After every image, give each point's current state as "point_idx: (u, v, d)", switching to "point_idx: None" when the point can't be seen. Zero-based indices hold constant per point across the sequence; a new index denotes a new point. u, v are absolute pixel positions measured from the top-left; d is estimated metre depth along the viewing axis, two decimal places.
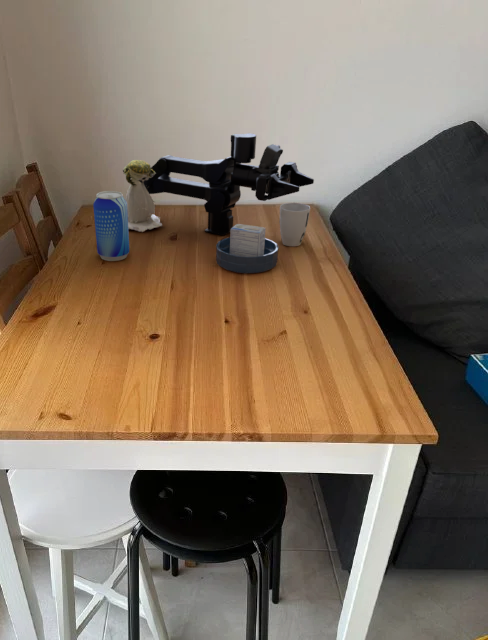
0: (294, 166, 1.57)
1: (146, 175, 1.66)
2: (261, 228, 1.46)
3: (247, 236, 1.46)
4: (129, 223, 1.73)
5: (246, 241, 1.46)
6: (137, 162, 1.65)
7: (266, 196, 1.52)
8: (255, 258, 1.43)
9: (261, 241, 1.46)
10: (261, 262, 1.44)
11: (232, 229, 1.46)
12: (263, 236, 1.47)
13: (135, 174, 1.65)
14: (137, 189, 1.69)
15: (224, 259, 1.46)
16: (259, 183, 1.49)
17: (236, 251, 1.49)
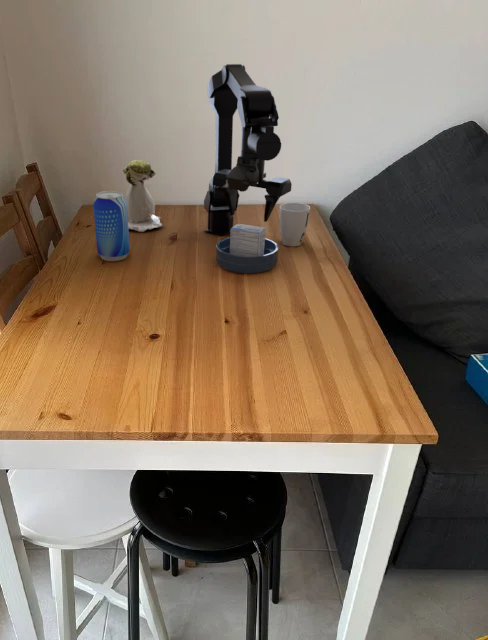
0: (268, 197, 1.37)
1: (146, 175, 1.66)
2: (261, 228, 1.46)
3: (247, 236, 1.46)
4: (129, 223, 1.73)
5: (246, 241, 1.46)
6: (137, 162, 1.65)
7: None
8: (255, 258, 1.43)
9: (261, 241, 1.46)
10: (261, 262, 1.44)
11: (232, 229, 1.46)
12: (263, 236, 1.47)
13: (135, 174, 1.65)
14: (137, 189, 1.69)
15: (224, 259, 1.46)
16: None
17: (236, 251, 1.49)
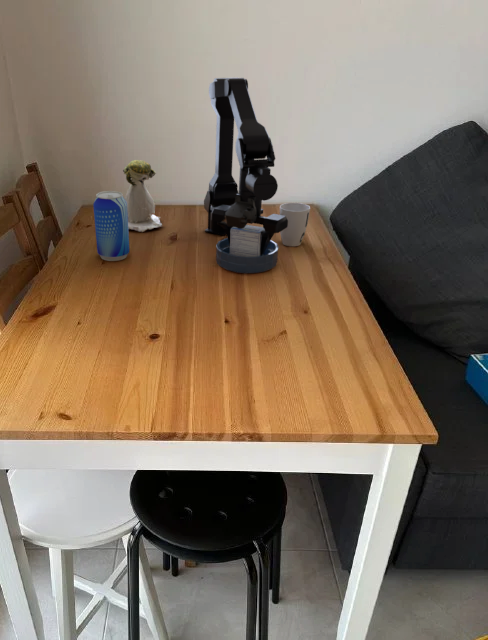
0: (264, 233, 1.42)
1: (146, 175, 1.66)
2: (261, 228, 1.46)
3: (247, 236, 1.46)
4: (129, 223, 1.73)
5: (246, 241, 1.46)
6: (137, 162, 1.65)
7: None
8: (255, 258, 1.43)
9: None
10: (261, 262, 1.44)
11: (232, 229, 1.46)
12: None
13: (135, 173, 1.65)
14: (137, 189, 1.69)
15: (224, 259, 1.46)
16: None
17: (236, 251, 1.49)
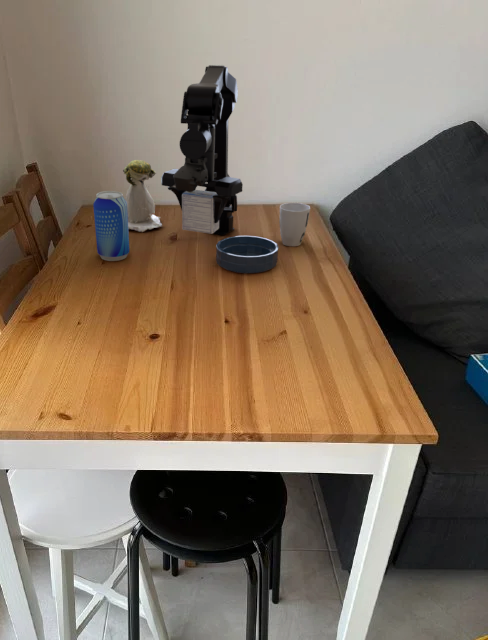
0: (217, 198, 1.31)
1: (146, 175, 1.66)
2: (215, 193, 1.35)
3: (199, 201, 1.35)
4: (129, 223, 1.73)
5: (198, 207, 1.36)
6: (137, 162, 1.65)
7: None
8: (255, 258, 1.43)
9: None
10: (261, 262, 1.44)
11: (183, 194, 1.36)
12: None
13: (135, 174, 1.65)
14: (137, 189, 1.69)
15: (224, 259, 1.46)
16: None
17: (189, 219, 1.38)
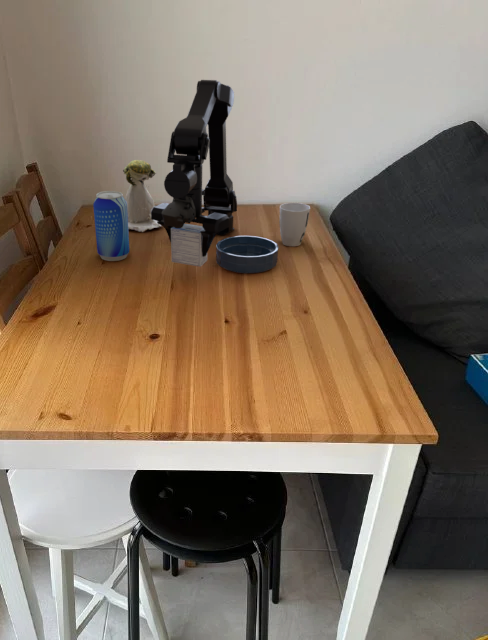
0: (204, 233, 1.35)
1: (146, 175, 1.66)
2: (203, 228, 1.39)
3: (187, 236, 1.38)
4: (129, 223, 1.73)
5: (186, 241, 1.39)
6: (137, 162, 1.65)
7: None
8: (255, 258, 1.43)
9: None
10: (261, 262, 1.44)
11: (172, 229, 1.39)
12: None
13: (135, 174, 1.65)
14: (137, 189, 1.69)
15: (224, 259, 1.46)
16: None
17: (178, 252, 1.42)
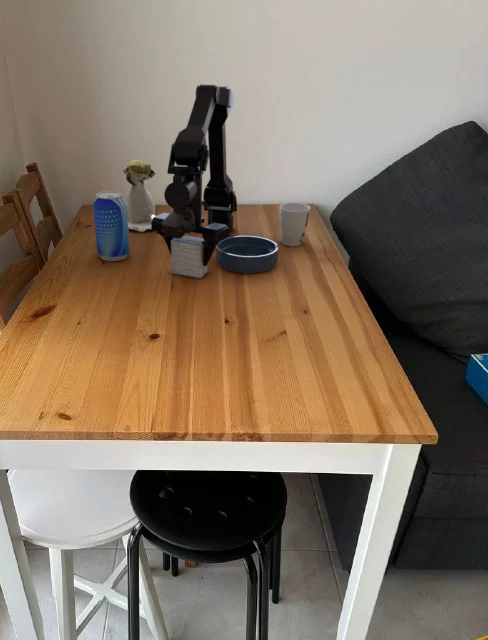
0: (205, 244, 1.36)
1: (146, 175, 1.66)
2: (202, 240, 1.40)
3: (187, 248, 1.40)
4: (129, 223, 1.73)
5: (186, 253, 1.41)
6: (137, 162, 1.65)
7: None
8: (255, 258, 1.43)
9: (202, 253, 1.40)
10: (261, 262, 1.44)
11: (172, 241, 1.41)
12: None
13: (135, 174, 1.65)
14: (137, 189, 1.69)
15: (224, 259, 1.46)
16: None
17: (178, 264, 1.43)
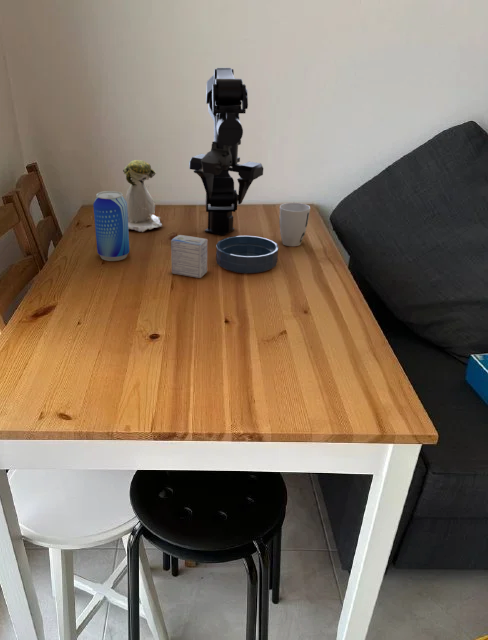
0: (241, 181, 1.45)
1: (146, 175, 1.66)
2: (202, 240, 1.40)
3: (187, 248, 1.40)
4: (129, 223, 1.73)
5: (186, 253, 1.41)
6: (137, 162, 1.65)
7: None
8: (255, 258, 1.43)
9: (202, 253, 1.40)
10: (261, 262, 1.44)
11: (172, 241, 1.41)
12: (205, 248, 1.41)
13: (135, 174, 1.65)
14: (137, 189, 1.69)
15: (224, 259, 1.46)
16: None
17: (178, 264, 1.43)
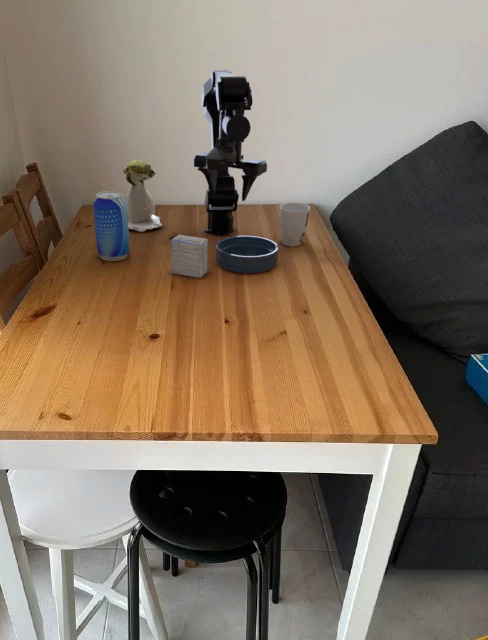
0: (245, 177, 1.46)
1: (146, 175, 1.66)
2: (202, 240, 1.40)
3: (187, 248, 1.40)
4: (129, 223, 1.73)
5: (186, 253, 1.41)
6: (137, 162, 1.65)
7: None
8: (255, 258, 1.43)
9: (202, 253, 1.40)
10: (261, 262, 1.44)
11: (172, 241, 1.41)
12: (205, 248, 1.41)
13: (135, 174, 1.65)
14: (137, 189, 1.69)
15: (224, 259, 1.46)
16: None
17: (178, 264, 1.43)
